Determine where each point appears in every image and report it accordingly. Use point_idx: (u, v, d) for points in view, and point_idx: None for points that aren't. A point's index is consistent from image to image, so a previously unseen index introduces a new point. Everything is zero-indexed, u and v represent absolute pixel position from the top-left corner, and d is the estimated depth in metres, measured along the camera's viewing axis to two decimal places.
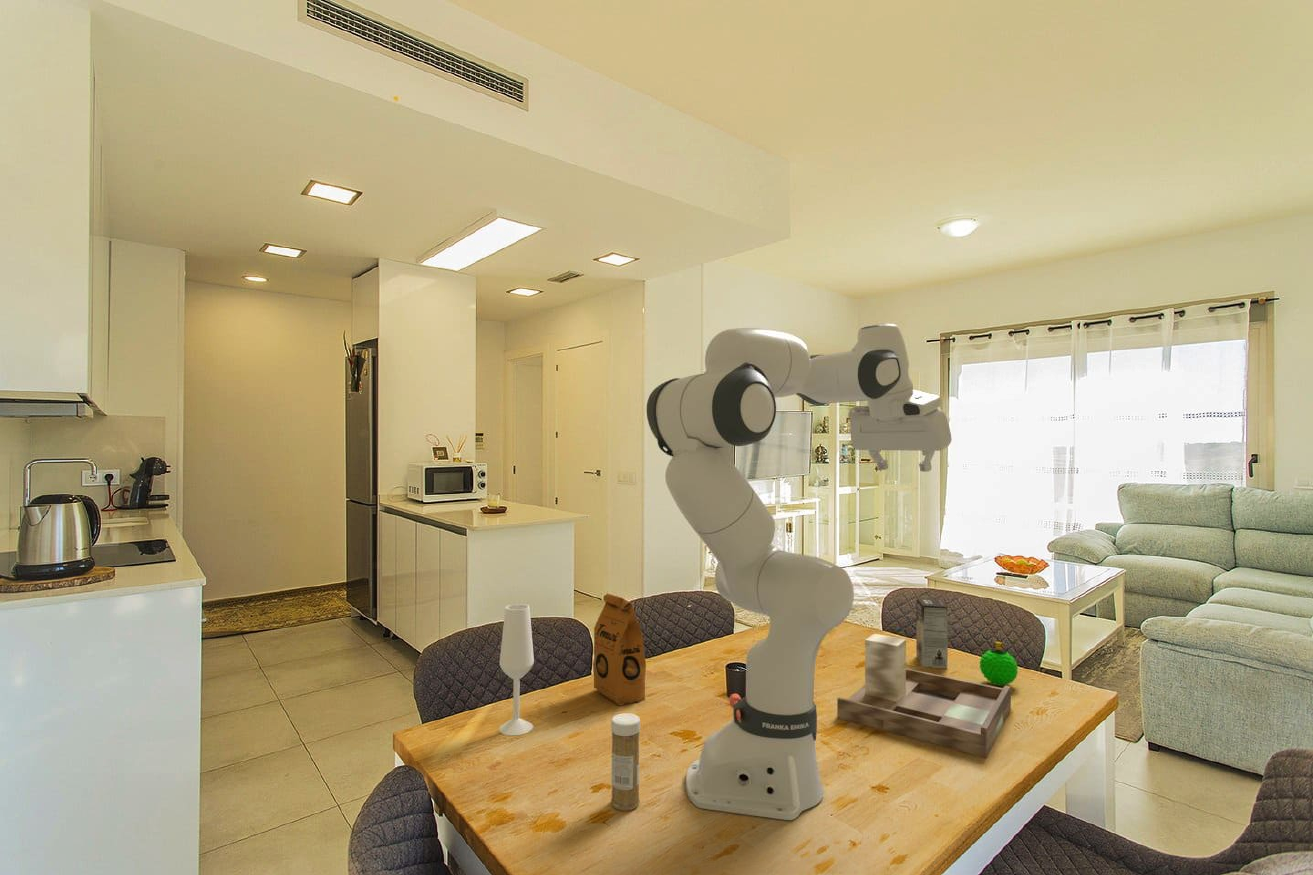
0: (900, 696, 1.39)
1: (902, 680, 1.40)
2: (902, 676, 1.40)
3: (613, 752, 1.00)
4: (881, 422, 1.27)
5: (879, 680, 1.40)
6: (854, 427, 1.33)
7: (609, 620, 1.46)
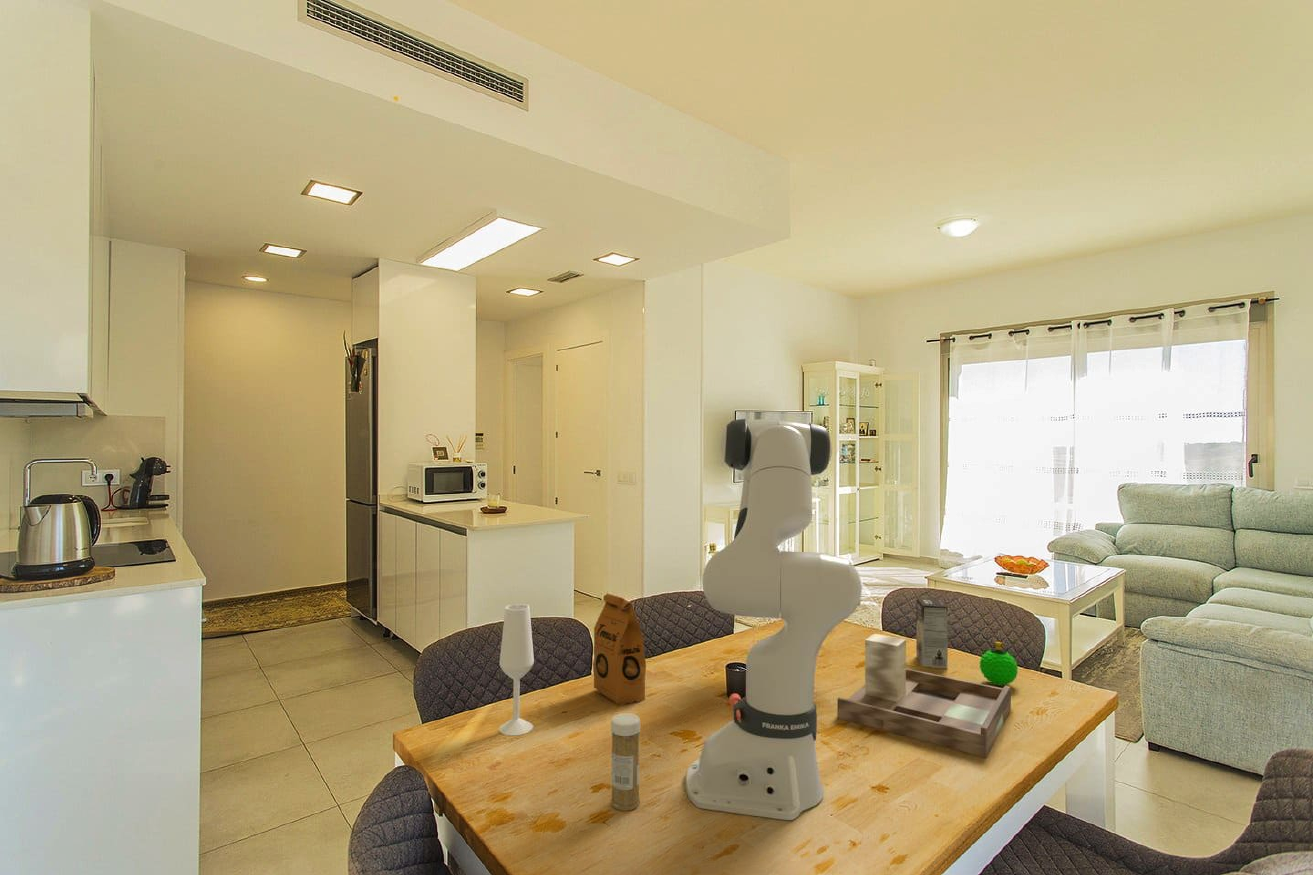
0: (900, 696, 1.39)
1: (902, 680, 1.40)
2: (902, 676, 1.40)
3: (613, 752, 1.00)
4: None
5: (879, 680, 1.40)
6: None
7: (609, 620, 1.46)
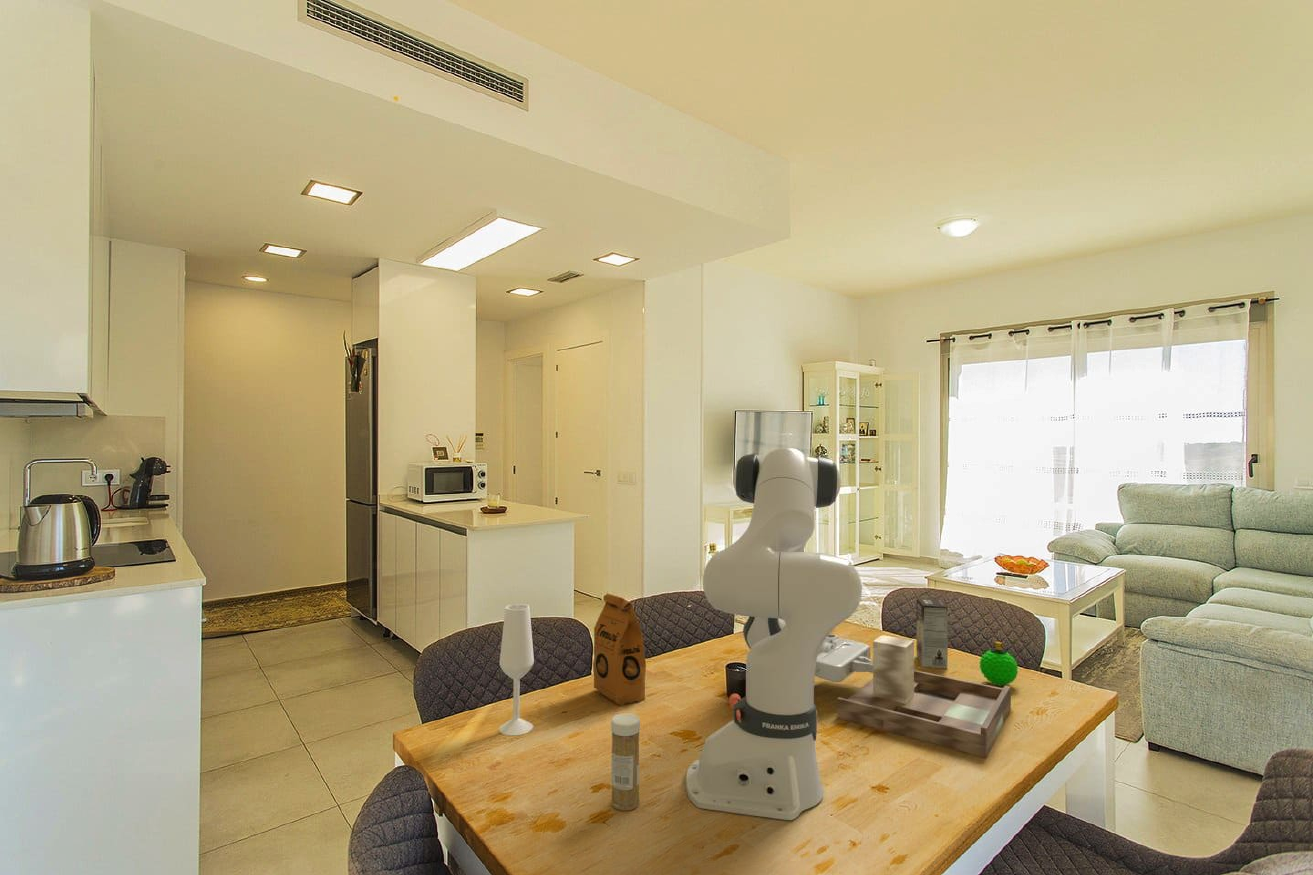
0: (909, 698, 1.38)
1: (910, 682, 1.39)
2: (910, 678, 1.39)
3: (613, 752, 1.00)
4: (828, 646, 1.49)
5: (887, 682, 1.39)
6: (820, 660, 1.42)
7: (609, 620, 1.46)
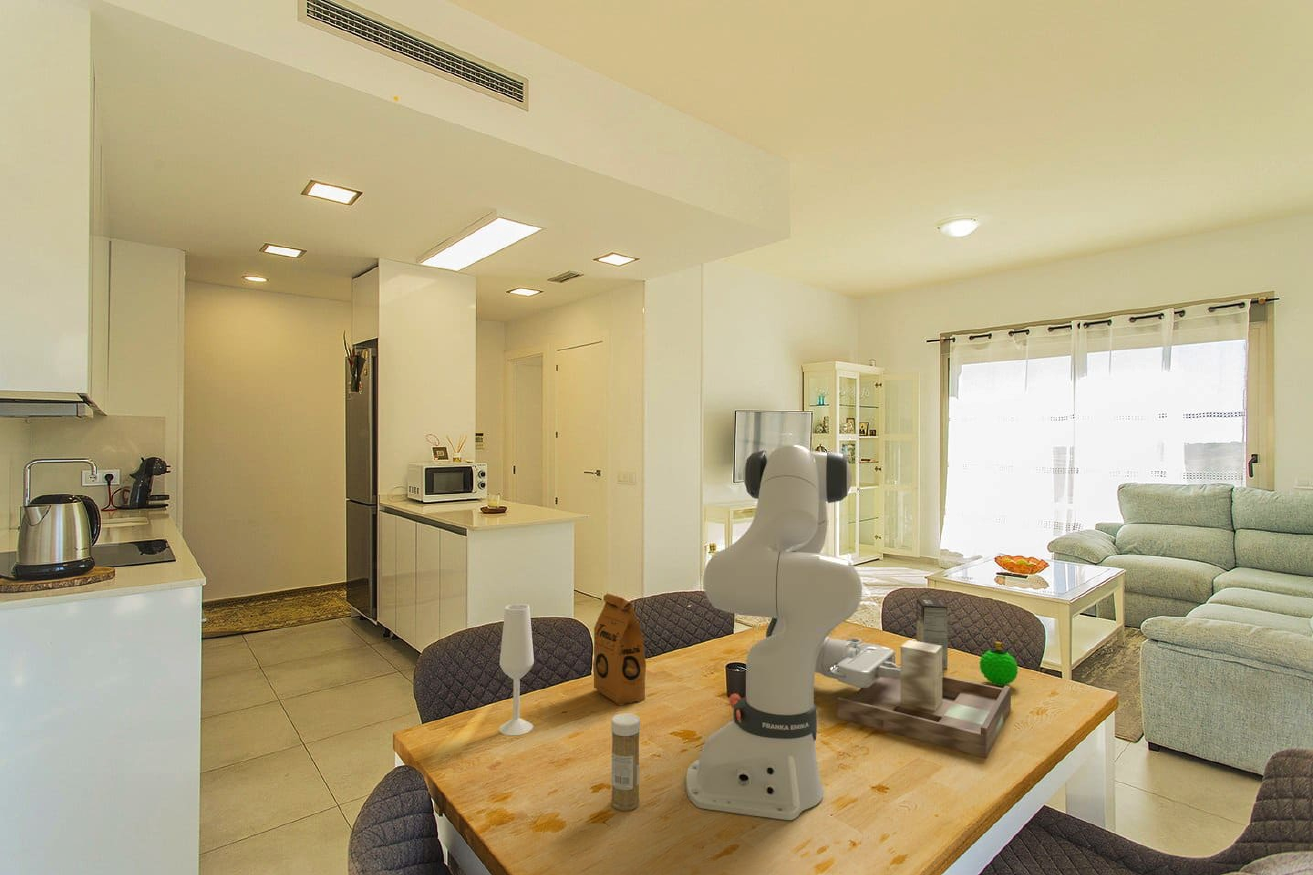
0: (938, 705, 1.35)
1: (939, 688, 1.36)
2: (939, 684, 1.36)
3: (613, 752, 1.00)
4: (852, 651, 1.45)
5: (916, 688, 1.35)
6: (846, 665, 1.39)
7: (609, 620, 1.46)
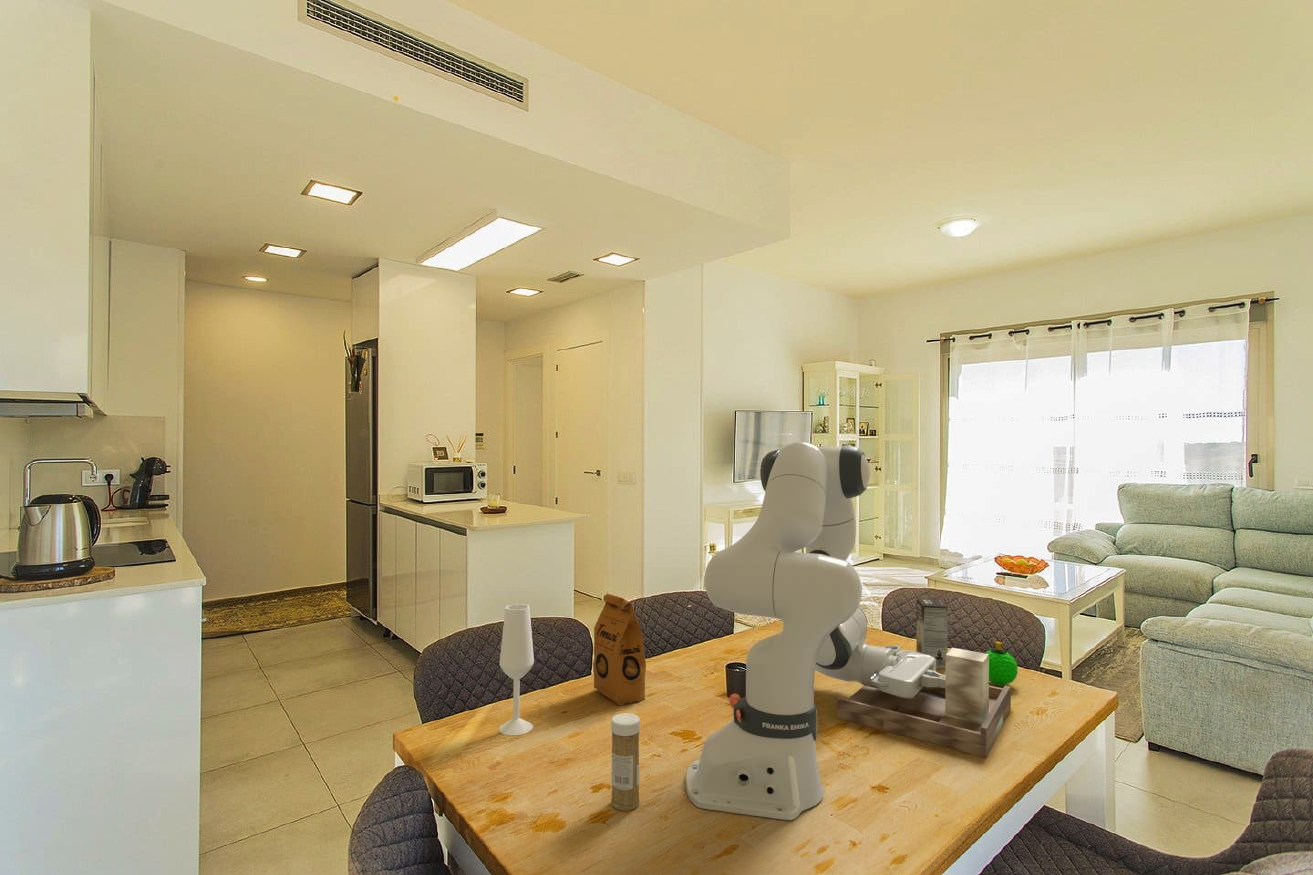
0: (985, 716, 1.29)
1: (986, 698, 1.30)
2: (986, 694, 1.30)
3: (613, 752, 1.00)
4: (893, 658, 1.40)
5: (962, 698, 1.30)
6: (888, 674, 1.33)
7: (609, 620, 1.46)
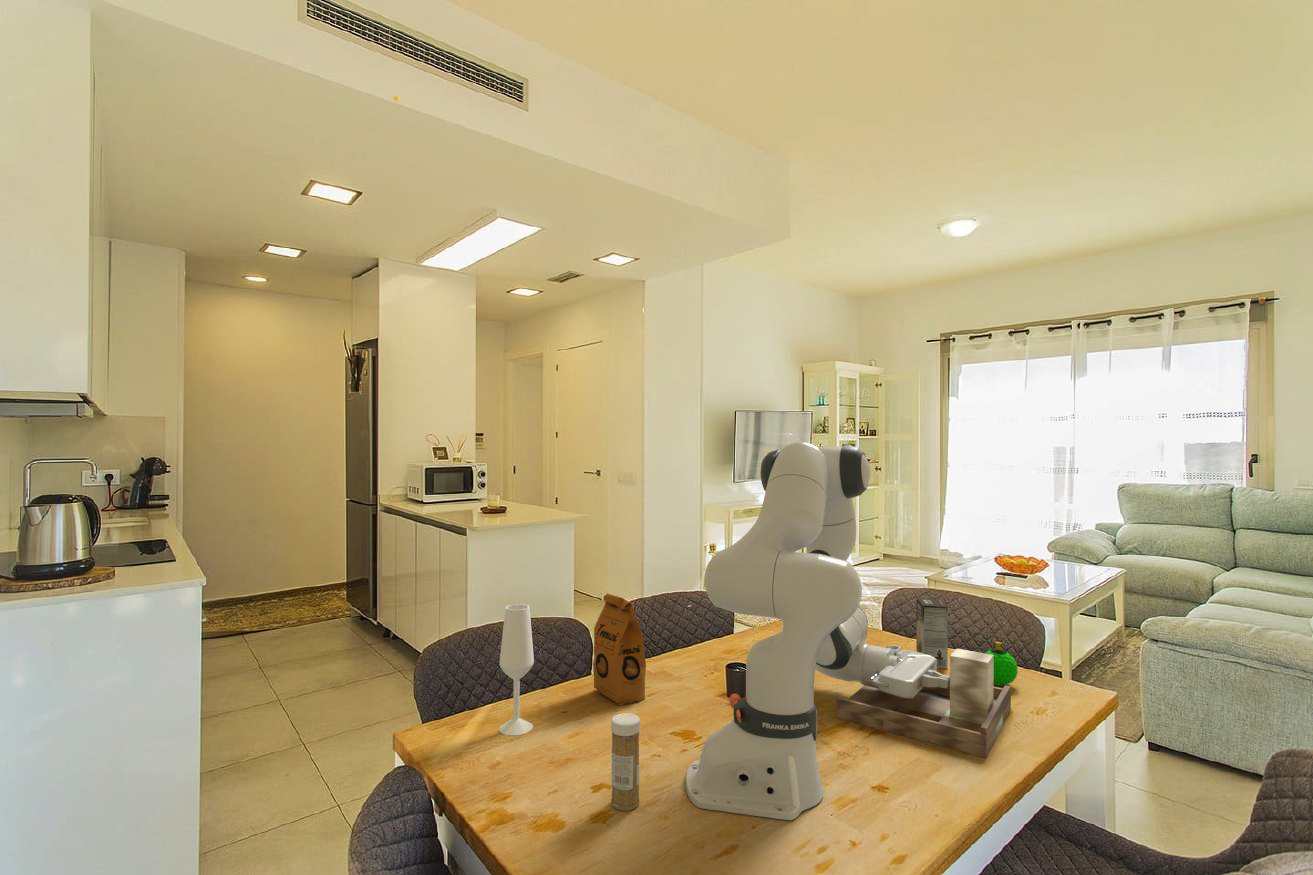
0: None
1: (991, 699, 1.30)
2: (991, 695, 1.30)
3: (613, 752, 1.00)
4: (893, 658, 1.40)
5: (967, 699, 1.29)
6: (889, 674, 1.33)
7: (609, 620, 1.46)
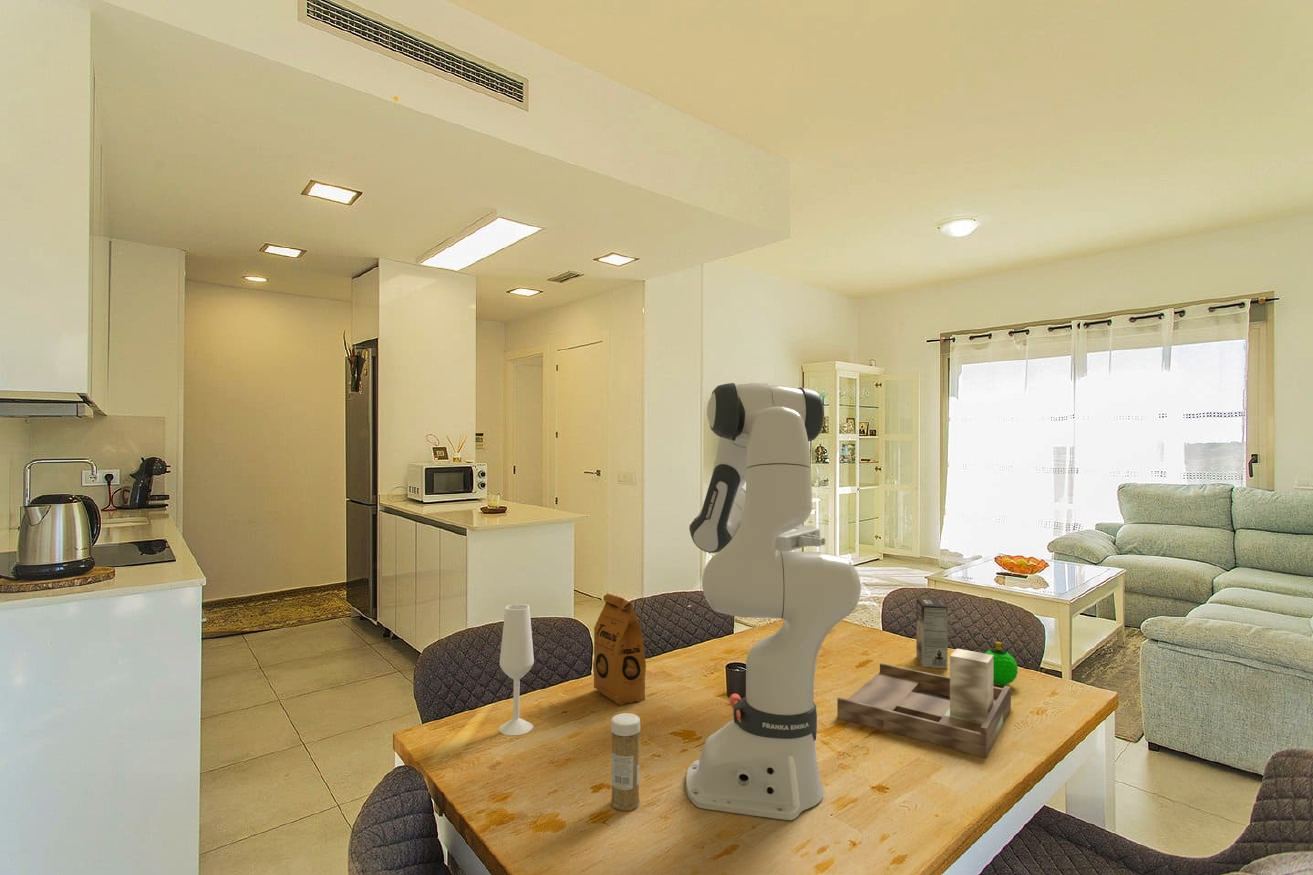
0: None
1: (991, 699, 1.30)
2: (991, 695, 1.30)
3: (613, 752, 1.00)
4: None
5: (967, 699, 1.29)
6: None
7: (609, 620, 1.46)
